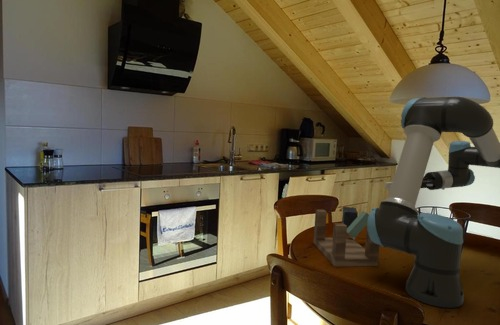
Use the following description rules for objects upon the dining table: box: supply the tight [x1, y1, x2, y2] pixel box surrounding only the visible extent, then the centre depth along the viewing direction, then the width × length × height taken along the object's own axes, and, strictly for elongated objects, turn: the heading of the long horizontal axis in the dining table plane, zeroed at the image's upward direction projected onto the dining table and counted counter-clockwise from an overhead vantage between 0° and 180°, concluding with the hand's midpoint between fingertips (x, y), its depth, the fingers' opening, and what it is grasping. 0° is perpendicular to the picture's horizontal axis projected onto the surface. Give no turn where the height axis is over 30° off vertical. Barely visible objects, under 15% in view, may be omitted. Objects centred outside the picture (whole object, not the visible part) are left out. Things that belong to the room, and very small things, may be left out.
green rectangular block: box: [347, 210, 369, 241], centre depth 146 cm, size 4×4×12 cm
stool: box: [313, 208, 381, 267], centre depth 135 cm, size 24×16×14 cm, turn 7°
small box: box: [341, 206, 359, 228], centre depth 166 cm, size 11×6×10 cm, turn 168°
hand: (386, 186), depth 143 cm, fingers closed
